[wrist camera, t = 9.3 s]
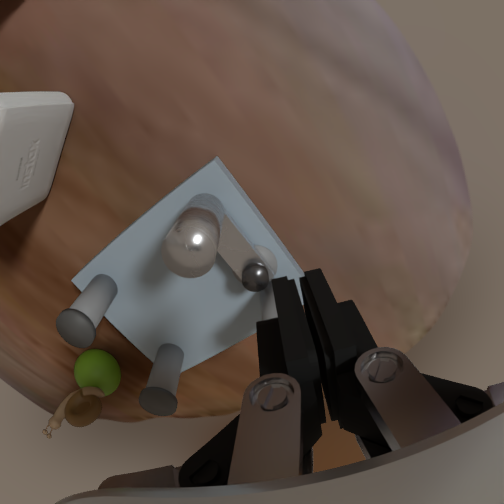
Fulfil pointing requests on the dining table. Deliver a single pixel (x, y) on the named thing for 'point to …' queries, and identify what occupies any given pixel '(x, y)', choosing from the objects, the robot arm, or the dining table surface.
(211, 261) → the hinged leg
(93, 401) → the snail figurine
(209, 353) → the stool frame
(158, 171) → the dining table surface
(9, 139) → the photo printer
